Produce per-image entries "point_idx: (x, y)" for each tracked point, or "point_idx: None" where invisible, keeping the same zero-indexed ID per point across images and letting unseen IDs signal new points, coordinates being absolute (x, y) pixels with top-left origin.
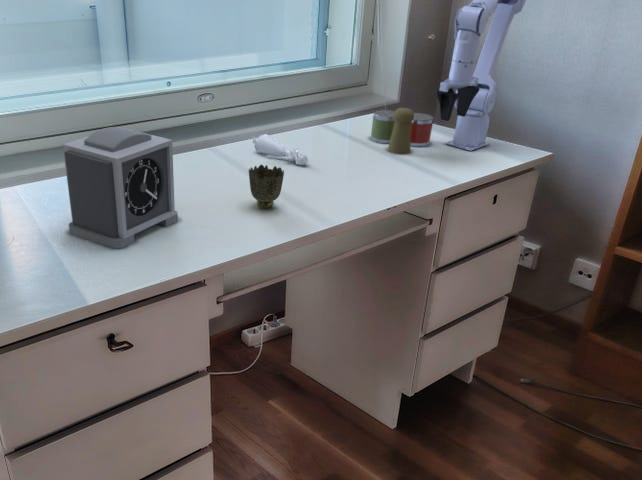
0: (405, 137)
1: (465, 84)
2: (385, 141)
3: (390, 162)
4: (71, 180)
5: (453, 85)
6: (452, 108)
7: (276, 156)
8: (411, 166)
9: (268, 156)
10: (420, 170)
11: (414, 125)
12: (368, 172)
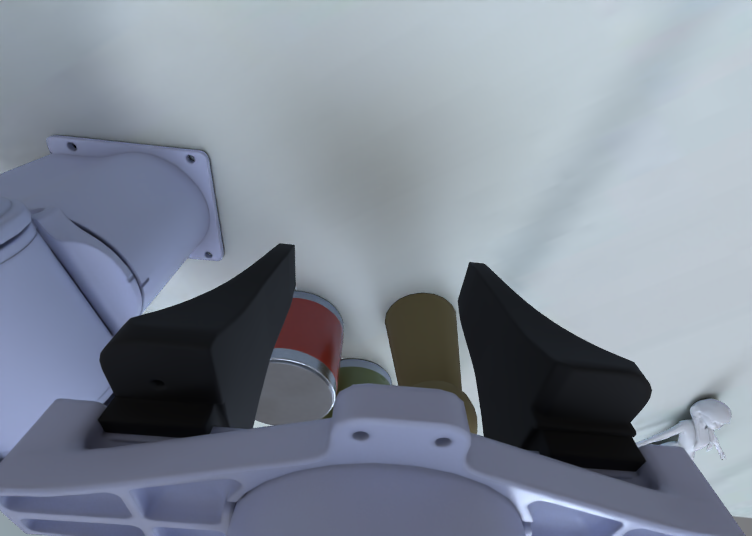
0: (446, 339)
1: (486, 453)
2: (384, 373)
3: (559, 285)
4: None
5: (636, 495)
6: (504, 301)
7: (718, 447)
8: (564, 222)
9: (724, 454)
10: (597, 178)
11: (336, 372)
12: (702, 283)
